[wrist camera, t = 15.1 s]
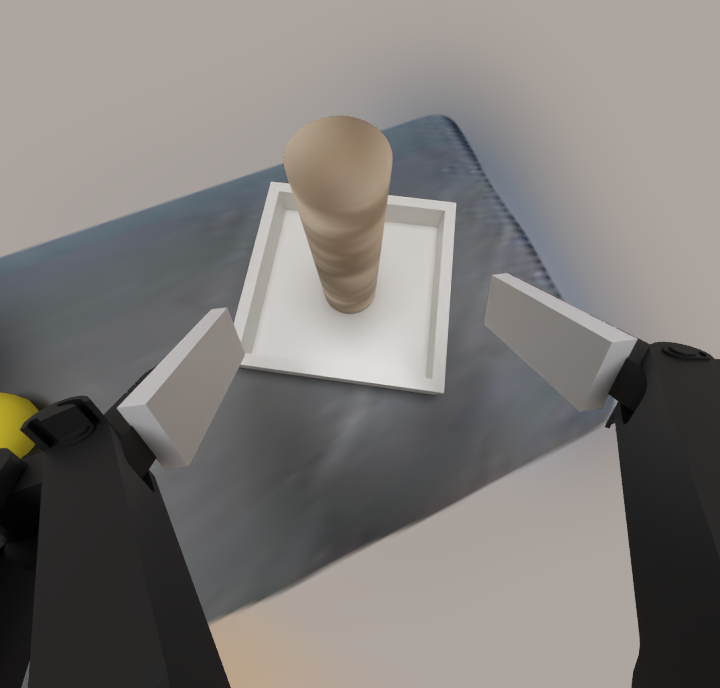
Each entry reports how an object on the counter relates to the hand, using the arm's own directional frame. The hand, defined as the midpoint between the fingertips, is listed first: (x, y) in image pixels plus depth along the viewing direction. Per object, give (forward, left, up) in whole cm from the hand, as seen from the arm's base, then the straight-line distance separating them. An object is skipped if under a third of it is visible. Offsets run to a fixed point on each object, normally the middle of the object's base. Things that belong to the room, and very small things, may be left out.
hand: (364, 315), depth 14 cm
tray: (-2, +7, -12) cm, 14 cm away
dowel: (-2, +6, -11) cm, 13 cm away
